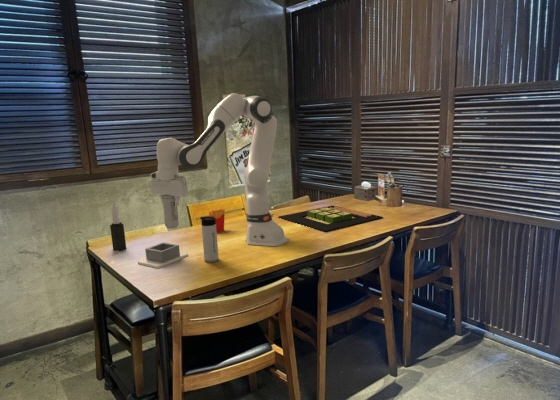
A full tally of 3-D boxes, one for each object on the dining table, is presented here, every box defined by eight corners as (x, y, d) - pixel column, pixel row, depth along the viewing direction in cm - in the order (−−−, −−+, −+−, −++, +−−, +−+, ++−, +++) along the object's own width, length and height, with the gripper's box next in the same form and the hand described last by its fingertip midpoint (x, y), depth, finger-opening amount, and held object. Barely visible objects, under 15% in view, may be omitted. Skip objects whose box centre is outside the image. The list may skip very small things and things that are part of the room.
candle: (118, 251, 198) (112, 201, 193) (112, 250, 200) (105, 200, 195) (127, 248, 202) (121, 199, 197) (120, 247, 204) (114, 198, 200)
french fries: (211, 233, 222) (209, 210, 220) (209, 231, 226) (207, 209, 223) (227, 230, 226) (225, 208, 224) (224, 229, 230) (223, 207, 228)
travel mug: (204, 258, 181) (200, 215, 178) (219, 257, 182) (215, 214, 178) (203, 263, 175) (199, 219, 171) (218, 262, 176) (214, 218, 172)
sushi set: (383, 219, 239) (383, 212, 238) (325, 234, 215) (325, 226, 214) (332, 207, 276) (332, 201, 275) (278, 219, 251) (278, 212, 250)
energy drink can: (171, 224, 188) (168, 193, 185) (181, 225, 185) (178, 194, 182) (162, 228, 182) (159, 195, 179) (173, 229, 180) (170, 196, 177)
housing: (188, 255, 187) (187, 243, 185) (158, 268, 172) (156, 255, 170) (168, 251, 193) (167, 239, 192) (137, 263, 178) (136, 250, 177)
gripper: (190, 175, 176) (192, 205, 179) (158, 172, 187) (160, 201, 190) (180, 176, 171) (182, 208, 174) (147, 174, 182) (149, 204, 184)
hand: (170, 205), depth 182 cm, fingers closed on energy drink can, 6 cm apart
